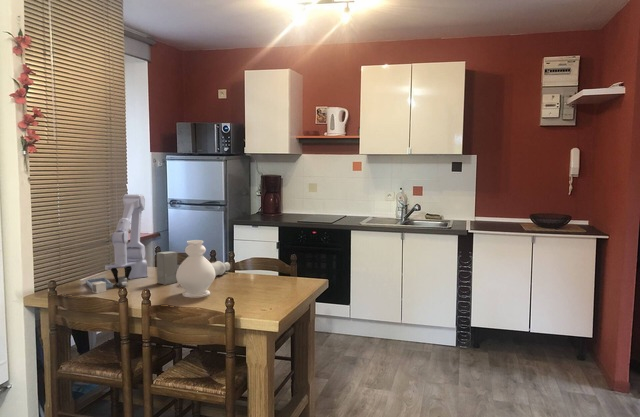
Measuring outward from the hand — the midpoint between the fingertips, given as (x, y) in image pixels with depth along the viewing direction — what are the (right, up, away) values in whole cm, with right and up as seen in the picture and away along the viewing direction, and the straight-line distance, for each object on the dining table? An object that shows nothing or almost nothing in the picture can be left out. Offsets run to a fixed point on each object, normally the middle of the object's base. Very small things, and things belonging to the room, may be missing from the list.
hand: (121, 282), depth 257 cm
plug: (0, -1, 0) cm, 1 cm away
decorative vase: (+41, -3, -16) cm, 44 cm away
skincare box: (+21, -1, +5) cm, 22 cm away
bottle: (+41, 0, +15) cm, 44 cm away
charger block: (-6, -3, -12) cm, 14 cm away
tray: (-11, -2, -1) cm, 11 cm away
